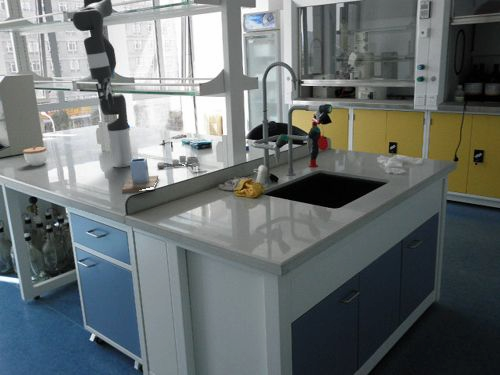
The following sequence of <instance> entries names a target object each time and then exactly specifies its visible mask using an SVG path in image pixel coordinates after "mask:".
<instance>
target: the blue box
mask: <svg viewBox="0 0 500 375" xmlns="http://www.w3.org/2000/svg"><path fill="white" fill-rule="evenodd" d="M129 168H130V174H131V178H132V181H133V185H136V184H148V182H149V176H150V175H149V167H148V159H147V157H142V158H133V159H132V160H131V161H130V166H129Z"/></svg>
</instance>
